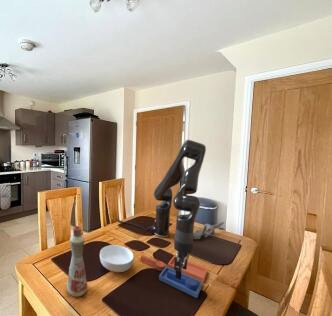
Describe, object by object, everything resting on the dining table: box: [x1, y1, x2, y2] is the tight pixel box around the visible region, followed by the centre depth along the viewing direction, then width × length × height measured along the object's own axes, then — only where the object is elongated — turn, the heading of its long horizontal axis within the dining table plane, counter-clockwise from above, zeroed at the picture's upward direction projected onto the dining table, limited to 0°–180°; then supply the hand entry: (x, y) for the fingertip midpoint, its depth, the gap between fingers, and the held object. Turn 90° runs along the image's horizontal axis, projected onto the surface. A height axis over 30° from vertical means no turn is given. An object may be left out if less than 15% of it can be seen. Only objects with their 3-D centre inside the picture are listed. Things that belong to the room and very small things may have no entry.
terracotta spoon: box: [140, 254, 166, 272], centre depth 101 cm, size 12×5×3 cm, turn 50°
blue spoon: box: [167, 270, 197, 291], centre depth 88 cm, size 12×5×3 cm, turn 50°
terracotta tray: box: [167, 255, 209, 283], centre depth 98 cm, size 16×9×2 cm, turn 50°
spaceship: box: [193, 221, 225, 240], centre depth 136 cm, size 8×35×8 cm
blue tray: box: [158, 266, 203, 299], centre depth 89 cm, size 16×9×2 cm, turn 50°
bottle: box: [66, 225, 88, 298], centre depth 82 cm, size 9×9×28 cm
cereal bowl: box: [99, 244, 135, 273], centre depth 99 cm, size 17×17×7 cm
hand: (181, 273), depth 88 cm, fingers open, 8 cm apart
